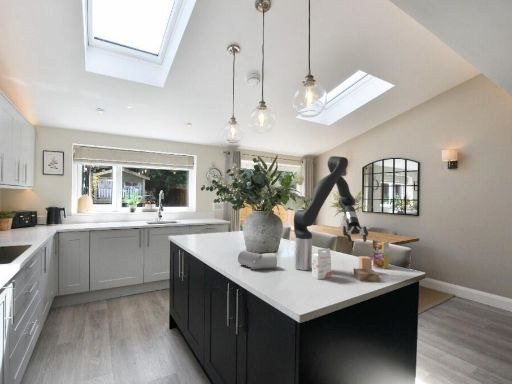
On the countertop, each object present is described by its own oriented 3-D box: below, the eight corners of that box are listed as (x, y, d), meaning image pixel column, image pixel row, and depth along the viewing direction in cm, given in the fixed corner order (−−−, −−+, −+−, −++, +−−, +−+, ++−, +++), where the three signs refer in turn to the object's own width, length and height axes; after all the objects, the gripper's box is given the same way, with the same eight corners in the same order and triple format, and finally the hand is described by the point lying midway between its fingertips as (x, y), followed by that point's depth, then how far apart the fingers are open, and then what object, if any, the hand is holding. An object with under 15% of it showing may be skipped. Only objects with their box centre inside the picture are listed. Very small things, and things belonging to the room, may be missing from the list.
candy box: (372, 265, 158) (372, 239, 158) (377, 264, 159) (377, 239, 159) (383, 269, 149) (383, 242, 150) (389, 268, 151) (389, 242, 151)
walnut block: (359, 281, 127) (359, 273, 127) (353, 276, 136) (353, 268, 136) (378, 282, 127) (378, 273, 127) (371, 276, 136) (371, 268, 136)
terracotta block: (362, 273, 141) (362, 258, 141) (359, 270, 146) (359, 256, 146) (371, 273, 140) (371, 258, 140) (368, 270, 145) (368, 256, 145)
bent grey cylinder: (242, 270, 139) (278, 268, 143) (241, 250, 141) (277, 249, 146) (236, 269, 155) (269, 267, 160) (236, 251, 158) (268, 249, 162)
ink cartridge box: (324, 274, 137) (324, 246, 137) (331, 277, 132) (331, 248, 133) (311, 276, 133) (311, 247, 133) (318, 279, 128) (318, 249, 129)
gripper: (341, 216, 165) (346, 237, 154) (364, 216, 165) (371, 237, 153) (339, 223, 171) (344, 244, 159) (361, 224, 170) (368, 245, 158)
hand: (357, 241), depth 156 cm, fingers open, 8 cm apart
